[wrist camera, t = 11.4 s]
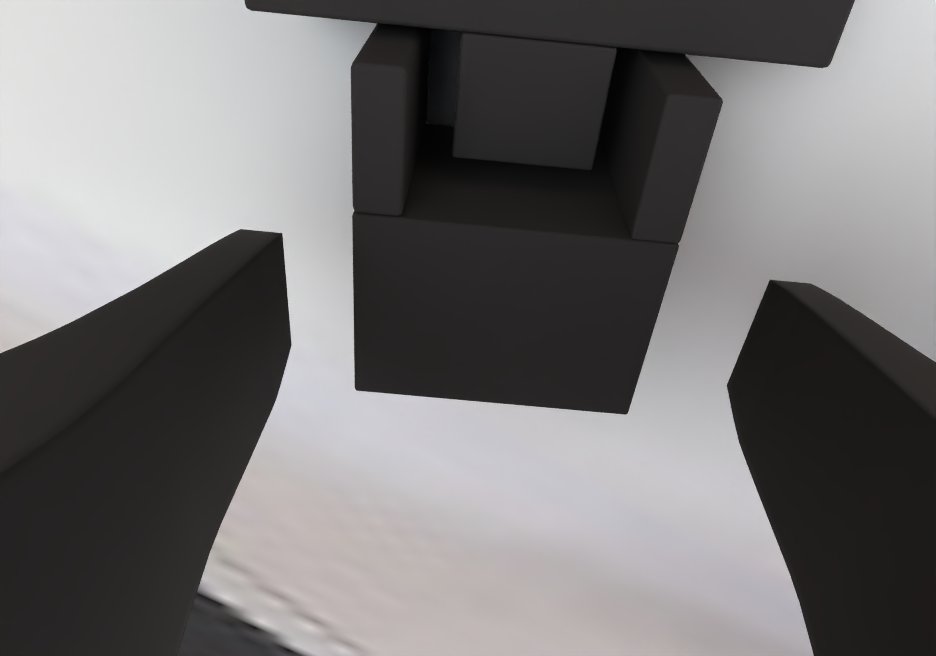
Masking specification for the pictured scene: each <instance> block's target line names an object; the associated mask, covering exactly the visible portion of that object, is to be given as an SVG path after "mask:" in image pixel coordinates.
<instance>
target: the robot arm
mask: <svg viewBox="0 0 936 656" xmlns="http://www.w3.org/2000/svg"><path fill="white" fill-rule="evenodd" d="M290 348H291V334H290V322H289V310H288V298H287V286H286V273H285V261H284V249H283V237H282V233H274V232H264V231H253V230H243V229H240V230H238V231H236V232H234V233H232V234H230V235H228V236H226V237H224V238H222V239H220V240H219V241H217V242H215V243H213V244H212V245H210V246H208V247H206V248H205V249H203V250H201V251H200V252H198V253H196V254H195V255H193V256H191V257H190V258H188V259H186V260H184V261H183V262H181V263H179V264H178V265H176V266H174V267H172V268H171V269H169V270H167V271H166V272H164V273H162V274H160V275H159V276H157V277H155V278H154V279H152V280H150V281H148V282H147V283H145V284H143V285H141V286H140V287H138V288H136V289H134V290H132V291H130V292H128V293H127V294H125V295H123V296H121V297H119V298H117V299H115V300H113V301H111V302H109V303H107V304H105V305H104V306H102V307H100V308H98V309H96V310H94V311H92V312H90V313H88V314H86V315H84V316H83V317H81V318H79V319H77V320H75V321H73V322H71V323H69V324H67V325H64V326H62V327H60V328H58V329H56V330H54V331H52V332H49V333H47V334H45V335H43V336H41V337H38V338H36V339H34V340H31V341H29V342H27V343H24V344H22V345H20V346H17V347H15V348H12V349H10V350H8V351H5V352H3V353H0V656H177V655H178V651H179V648H180V645H181V641H182V638H183V635H184V631H185V628H186V625H187V621H188V618H189V615H190V612H191V609H192V606H193V603H194V599H195V596H196V593H197V590H198V587H199V584H200V581H201V578H202V575H203V572H204V569H205V565H206V562H207V559H208V556H209V553H210V551H211V548H212V545H213V543H214V540H215V538H216V535H217V533H218V530H219V528H220V525H221V523H222V520H223V518H224V516H225V514H226V511H227V509H228V507H229V505H230V503H231V500H232V498H233V496H234V494H235V491H236V489H237V487H238V485H239V482H240V480H241V478H242V476H243V474H244V471H245V469H246V467H247V465H248V462H249V460H250V458H251V456H252V453H253V451H254V449H255V447H256V445H257V442H258V440H259V438H260V435H261V433H262V431H263V429H264V426H265V424H266V422H267V420H268V417H269V415H270V413H271V410H272V408H273V406H274V403H275V401H276V398H277V395H278V391H279V388H280V384H281V381H282V378H283V374H284V370H285V367H286V363H287V359H288V356H289V352H290ZM727 388H728V393H729V398H730V403H731V408H732V414H733V418H734V422H735V427H736V431H737V435H738V439H739V443H740V446H741V449H742V451H743V454H744V457H745V459H746V462H747V465H748V467H749V470H750V473H751V475H752V478H753V481H754V483H755V486H756V488H757V491H758V494H759V496H760V499H761V501H762V504H763V506H764V509H765V511H766V514H767V517H768V519H769V522H770V524H771V527H772V529H773V532H774V534H775V537H776V540H777V542H778V545H779V547H780V550H781V552H782V555H783V557H784V560H785V563H786V565H787V568H788V570H789V573H790V576H791V579H792V582H793V585H794V587H795V590H796V593H797V596H798V599H799V602H800V606H801V609H802V613H803V617H804V620H805V624H806V628H807V632H808V635H809V639H810V643H811V646H812V650H813V654H814V656H936V362H934V361H933V360H931V359H929V358H928V357H926V356H925V355H923V354H922V353H920V352H919V351H917V350H916V349H914V348H913V347H911V346H910V345H908V344H907V343H905V342H904V341H902V340H901V339H899V338H898V337H896V336H895V335H893V334H892V333H890V332H889V331H887V330H886V329H884V328H883V327H881V326H880V325H878V324H877V323H875V322H874V321H872V320H871V319H869V318H868V317H866V316H865V315H863V314H862V313H860V312H859V311H857V310H856V309H854V308H852V307H851V306H849V305H848V304H846V303H845V302H843V301H841V300H840V299H838V298H836V297H835V296H833V295H831V294H830V293H828V292H826V291H824V290H822V289H820V288H818V287H816V286H814V285H812V284H808V283H798V282H787V281H777V280H770V281H769V283H768V286H767V288H766V290H765V293H764V295H763V298H762V300H761V303H760V305H759V308H758V310H757V313H756V315H755V318H754V320H753V322H752V325H751V327H750V330H749V332H748V335H747V337H746V340H745V342H744V345H743V347H742V349H741V352H740V354H739V357H738V359H737V362H736V364H735V367H734V369H733V372H732V374H731V376H730V379H729V381H728V384H727Z"/></svg>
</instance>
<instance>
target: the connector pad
mask: <svg viewBox="0 0 936 656" xmlns="http://www.w3.org/2000/svg"><path fill="white" fill-rule="evenodd" d="M430 41H431V29H430V28H421V27H411V26H401V25H391V24H381V23H378V24H377V25H376V27H375V28H374V30H373V32H372V33H371V35H370V36H369V38H368V39H367V41H366V43H365V44H364V46H363V47H362V49H361V51H360V52H359V54H358V55H357V57H356V58H355V60H354V62H353V64H352V66H351V113H352V186H353V207H354V213H353V216H352V220H353V290H354V361H355V389H356V390H357V391H368V392H379V393H390V394H402V395H413V396H424V397H435V398H447V399H458V400H469V401H480V402H491V403H503V404H514V405H525V406H536V407H548V408H559V409H570V410H581V411H592V412H604V413H615V414H627V413H628V411H629V408H630V404H631V401H632V398H633V395H634V391H635V388H636V385H637V382H638V378H639V375H640V372H641V368H642V365H643V362H644V359H645V355H646V352H647V349H648V346H649V342H650V339H651V336H652V333H653V329H654V326H655V323H656V319H657V316H658V313H659V310H660V306H661V303H662V300H663V297H664V293H665V290H666V287H667V284H668V280H669V277H670V274H671V271H672V267H673V264H674V261H675V257H676V254H677V251H678V248H679V245H678V243H679V242H680V240H681V237H682V234H683V231H684V227H685V224H686V221H687V218H688V214H689V211H690V208H691V205H692V201H693V198H694V195H695V192H696V188H697V185H698V182H699V178H700V175H701V172H702V169H703V165H704V162H705V159H706V156H707V152H708V149H709V146H710V143H711V139H712V136H713V133H714V129H715V126H716V123H717V120H718V116H719V113H720V110H721V107H722V103H723V101H722V98H721V97H720V96H719V95H718V94H717V92H716V91H715V90H714V89H713V88H712V87H711V85H710V84H709V83H708V82H707V81H706V79H705V78H704V77H703V76H702V75H701V73H700V72H699V71H698V70H697V69H696V67H695V66H694V65H693V64H692V63H691V61H690V60H689V59H688V58H687V57H686V56H685V54H679V53H669V52H659V51H649V50H639V49H629V48H619V47H617V53H616V57H615V62H614V67H613V72H612V77H611V82H610V87H609V92H608V96H607V101H606V106H605V111H604V116H603V121H602V126H601V130H600V135H599V140H598V145H597V150H596V155H595V160H594V165H593V168H592V170H581V169H570V168H560V167H550V166H539V165H529V164H519V163H508V162H498V161H488V160H477V159H467V158H457V157H453V155H452V151H453V138H454V126H448V125H437V124H427V123H426V119H427V99H428V80H429V61H430Z"/></svg>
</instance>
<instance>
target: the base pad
mask: <svg viewBox="0 0 936 656" xmlns="http://www.w3.org/2000/svg"><path fill="white" fill-rule="evenodd" d="M854 1H855V0H245V5H246V7H247V8H248V9H250V10H252V11H262V12H272V13H282V14H292V15H301V16H311V17H321V18H331V19H341V20H351V21H361V22H371V23H381V24H391V25H401V26H411V27H421V28H430V29H440V30H450V31H460V32H462V35H461V47H460V60H459V73H458V86H457V99H456V112H455V125H454V138H453V151H452V155H453V157H457V158H467V159H477V160H488V161H498V162H508V163H519V164H529V165H539V166H550V167H560V168H570V169H581V170H592V168H593V165H594V160H595V155H596V150H597V145H598V140H599V135H600V130H601V126H602V121H603V116H604V111H605V106H606V101H607V96H608V92H609V87H610V82H611V77H612V72H613V67H614V62H615V57H616V53H617V50H616V48H615V47H619V48H629V49H639V50H649V51H659V52H669V53H679V54H688V55H698V56H708V57H718V58H728V59H738V60H748V61H758V62H768V63H778V64H788V65H798V66H808V67H817V68H824V67H828V66H829V65H830V63H831V61H832V58H833V56H834V53H835V50H836V48H837V45H838V43H839V40H840V37H841V35H842V32H843V30H844V27H845V24H846V22H847V19H848V17H849V14H850V11H851V9H852V6H853V4H854Z"/></svg>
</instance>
